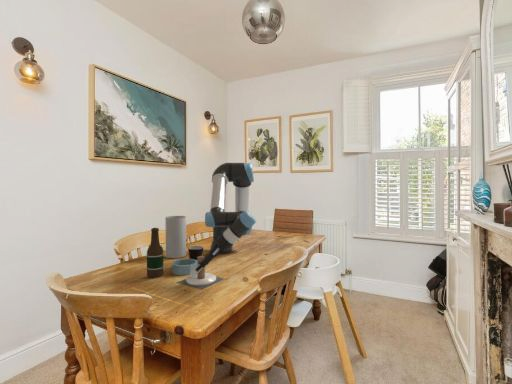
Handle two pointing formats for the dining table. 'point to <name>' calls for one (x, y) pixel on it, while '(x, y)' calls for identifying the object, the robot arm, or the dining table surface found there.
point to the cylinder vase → (175, 236)
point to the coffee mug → (195, 252)
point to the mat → (200, 286)
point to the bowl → (183, 266)
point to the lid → (201, 276)
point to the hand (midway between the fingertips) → (193, 273)
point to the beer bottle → (155, 256)
